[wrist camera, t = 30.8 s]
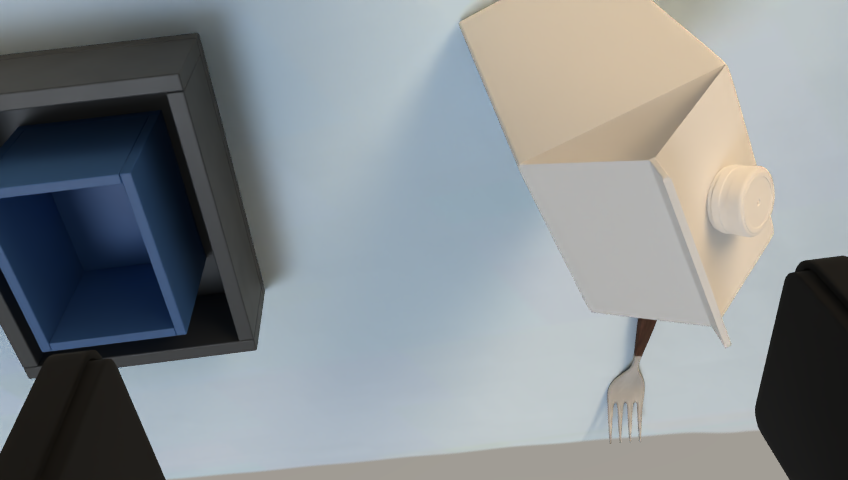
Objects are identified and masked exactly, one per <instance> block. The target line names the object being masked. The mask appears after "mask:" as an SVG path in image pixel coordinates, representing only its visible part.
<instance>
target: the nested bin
mask: <svg viewBox="0 0 848 480" xmlns="http://www.w3.org/2000/svg"><path fill="white" fill-rule="evenodd" d="M205 262H206V255H205V251H204V248H203V245H202V242H201V238H200V235H199V232H198V228H197V225H196V222H195V219H194V215H193V212H192V209H191V205H190V202H189V199H188V196H187V192H186V189H185V186H184V182H183V179H182V176H181V173H180V169H179V166H178V163H177V159H176V156H175V153H174V150H173V146H172V143H171V140H170V136H169V133H168V130H167V127H166V123H165V120H164V117H163V113H162V111H161V110H157V111H149V112H140V113H131V114H123V115H114V116H105V117H97V118H88V119H80V120H71V121H62V122H54V123H45V124H36V125H28V126H19V127H18V128H17V129H16V130H15V131H14V132H13V134H12V135H11V136H10V137H9V138H8V140H7V141H6V142H5V143H4V144H3V145H2V147H1V148H0V268H1V270H2V272H3V274H4V276H5V278H6V280H7V282H8V284H9V286H10V288H11V290H12V292H13V294H14V296H15V298H16V300H17V302H18V304H19V306H20V308H21V310H22V312H23V314H24V316H25V318H26V320H27V322H28V324H29V326H30V328H31V330H32V332H33V334H34V337H35V339H36V341H37V343H38V345H39V347H40V349H41V351H42V352H49V351H57V350H65V349H73V348H81V347H89V346H97V345H105V344H113V343H122V342H130V341H138V340H146V339H154V338H162V337H170V336H176V335H185V334H187V331H188V327H189V323H190V320H191V316H192V312H193V308H194V304H195V300H196V296H197V293H198V289H199V285H200V281H201V277H202V273H203V270H204V266H205Z"/></svg>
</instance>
